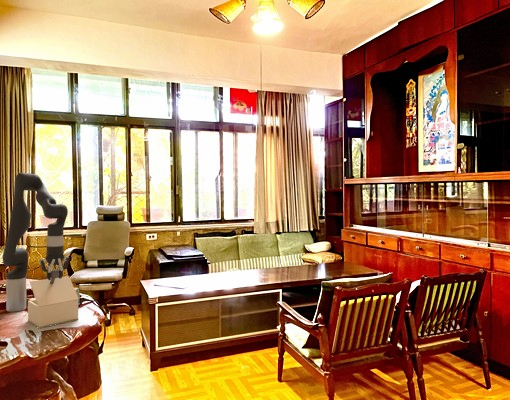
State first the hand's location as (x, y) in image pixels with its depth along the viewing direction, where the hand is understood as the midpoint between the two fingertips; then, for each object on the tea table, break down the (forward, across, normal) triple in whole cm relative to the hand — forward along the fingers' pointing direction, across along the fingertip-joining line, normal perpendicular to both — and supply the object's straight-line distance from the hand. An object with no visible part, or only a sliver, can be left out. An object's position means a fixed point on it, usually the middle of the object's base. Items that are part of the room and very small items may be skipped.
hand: (54, 278), depth 191 cm
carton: (+21, 0, -1) cm, 21 cm away
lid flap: (+6, 0, 0) cm, 6 cm away
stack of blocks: (+22, -11, -19) cm, 31 cm away
